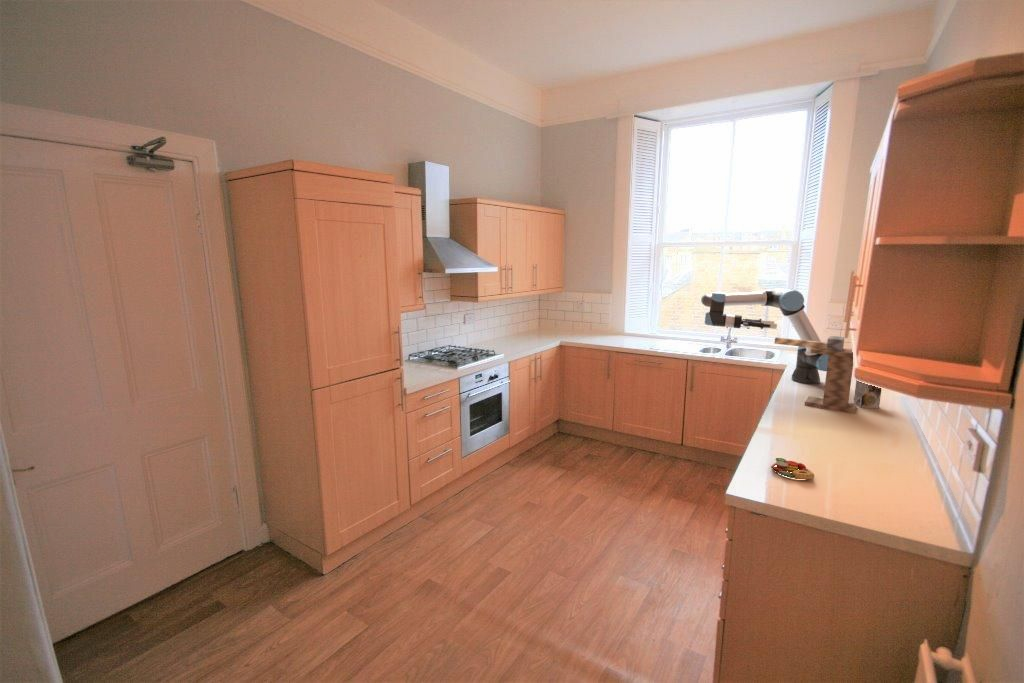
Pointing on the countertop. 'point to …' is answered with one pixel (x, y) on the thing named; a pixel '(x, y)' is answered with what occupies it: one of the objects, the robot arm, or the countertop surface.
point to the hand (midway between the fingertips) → (775, 325)
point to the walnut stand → (836, 382)
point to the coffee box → (867, 395)
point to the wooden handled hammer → (815, 343)
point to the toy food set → (792, 469)
